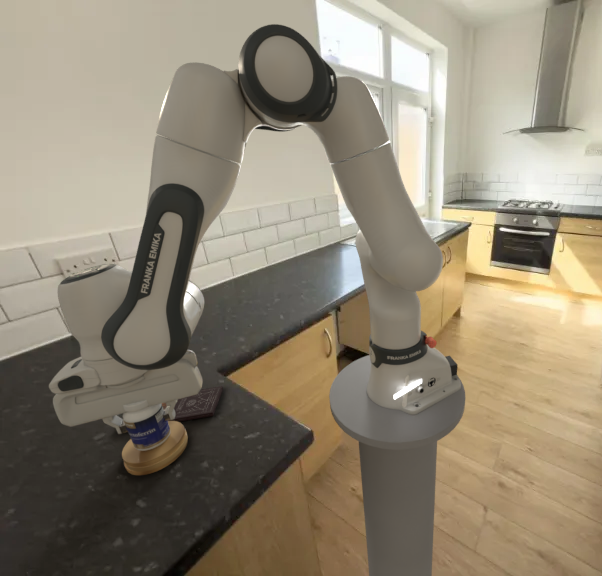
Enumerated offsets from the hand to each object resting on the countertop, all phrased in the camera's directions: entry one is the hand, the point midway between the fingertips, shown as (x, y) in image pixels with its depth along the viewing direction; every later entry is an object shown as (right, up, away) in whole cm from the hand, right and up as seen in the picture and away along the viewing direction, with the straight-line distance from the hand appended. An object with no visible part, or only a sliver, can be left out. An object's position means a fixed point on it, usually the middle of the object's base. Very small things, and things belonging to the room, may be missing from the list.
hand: (148, 424), depth 58 cm
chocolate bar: (-4, -2, +13) cm, 14 cm away
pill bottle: (0, -3, +1) cm, 4 cm away
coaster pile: (0, -6, +3) cm, 7 cm away
